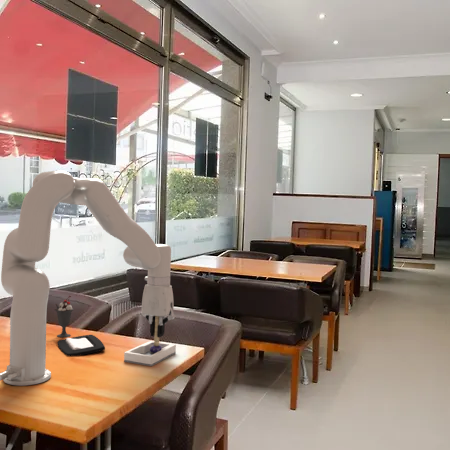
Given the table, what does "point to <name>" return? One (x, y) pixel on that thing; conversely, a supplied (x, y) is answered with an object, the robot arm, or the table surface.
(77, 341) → the light switch
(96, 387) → the table surface
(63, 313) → the sundae
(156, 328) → the toy lamp
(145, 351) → the white rimmed dish
